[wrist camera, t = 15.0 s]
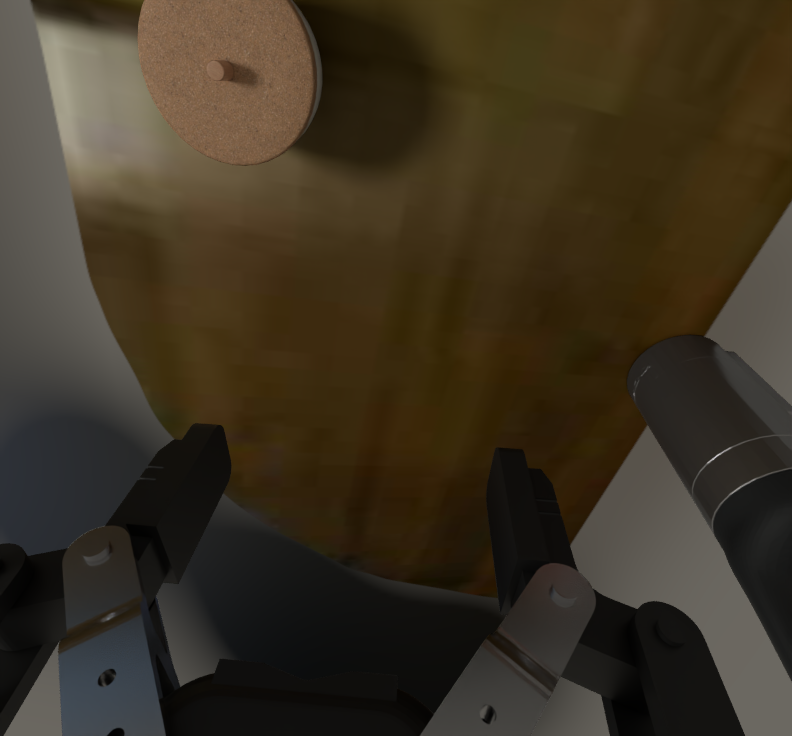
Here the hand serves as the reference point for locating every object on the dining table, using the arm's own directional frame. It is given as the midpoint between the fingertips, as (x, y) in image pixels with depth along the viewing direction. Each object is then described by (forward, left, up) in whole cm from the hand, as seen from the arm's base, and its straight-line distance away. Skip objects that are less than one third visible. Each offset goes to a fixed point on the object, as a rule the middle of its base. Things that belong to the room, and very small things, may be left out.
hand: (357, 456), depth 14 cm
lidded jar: (+11, -9, -30) cm, 33 cm away
